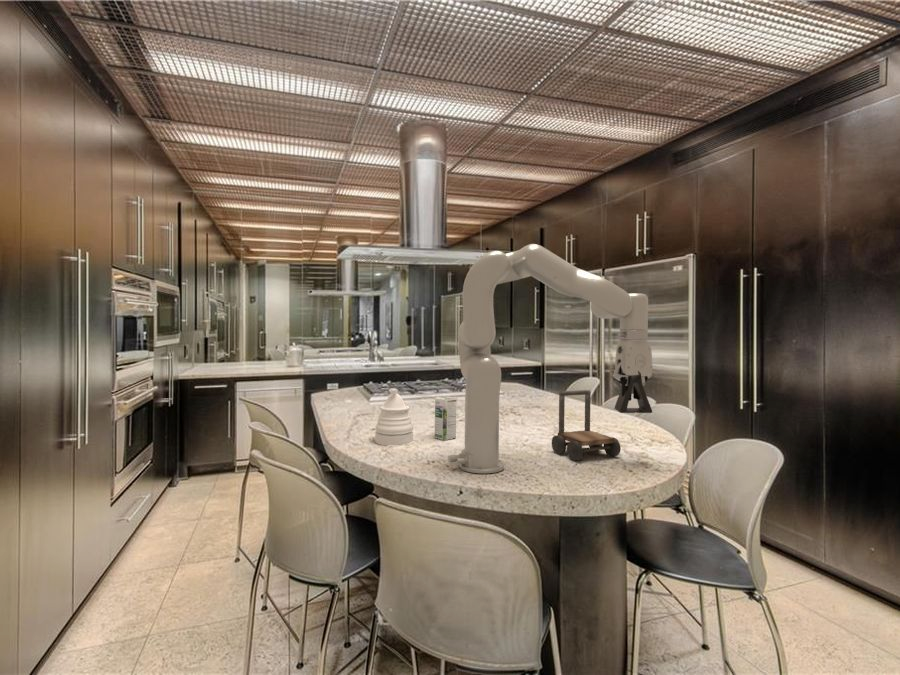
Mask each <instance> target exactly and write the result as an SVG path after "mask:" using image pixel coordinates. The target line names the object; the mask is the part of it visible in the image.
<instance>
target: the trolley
mask: <svg viewBox="0 0 900 675" xmlns="http://www.w3.org/2000/svg"><path fill="white" fill-rule="evenodd" d="M591 394H592V392H591V390H590V389H584V390H583V389H582V390H580V389H579V390H564V391H561V390H560V391H559V392H558V398H559V399H558V432H557V435H554V436H553V437H552V439H551V448H552V450H553V452H554V453H555V454H557V455H561V454H564V453H567V457H568V458H569V459H570V460H571V461H572V462H577V461H581V460H582V458H583V457H584V456H583V455H584V452H593V451H602V450H603V451H604V452H605V454H606V455H607V456H608V455H609V457H618V456H619V455H620V453H621V443H620V442H619V440H618V439H617V438H615V437H611V436H609V435H606V434H603V433H599V432H598V431H592V430H591ZM565 396H584V430H576V431H565V407H566V406H565V405H566V404H565ZM586 446H588V447H586Z"/></svg>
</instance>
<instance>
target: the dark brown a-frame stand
mask: <svg viewBox="0 0 900 675" xmlns="http://www.w3.org/2000/svg"><path fill="white" fill-rule="evenodd" d="M638 373H639V374H640V375H639V376H630V383H629V386H628V387H627V390H626V393H625V394H624V396H623V397H622V387H621V389H620V391H619V394H618V397H617V400H616V403H615V405H614V410H615V411H617V412H618V413H620V414H651V413H653V409H652V407H651V404H650V402H649V399H648V397H647V396H648V395H647V394H646V390H645V388H644V386H642V383H641V373H640V372H639V371H638ZM625 380H626V377H625ZM634 386H635V389H636V391H637V394H638V396H639V398H640V400H638V399H636V401H637V405H638V407H628V406H629V402H630V401H629V399H630V395H631V391H632V390H633V387H634ZM632 392H633V391H632ZM631 396H632V395H631Z"/></svg>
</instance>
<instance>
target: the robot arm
mask: <svg viewBox="0 0 900 675" xmlns="http://www.w3.org/2000/svg"><path fill="white" fill-rule="evenodd" d="M465 276H466V277H465V278H464V283H463V286H462V314H463V315H462V316H463V317H462V322H461V324H460V325H459V328H458V333H457V336H458V338H457V339H458V351H459V352H458V353H459V365H460V366H459V367H460V372H461V374H462V377H463V379H464V380H465V394H464V395H465V396H464V449H461V451H460V453H458V454H449V455H448V456H447V461H448V463H456V464H458V468H460V469H461V470H462V471H464V472H468V473H473V474H483V475H484V474H495V473H499V472H501V471H503V470H504V469H505V463H504V462H503V461H502V460H500V458H499V456H500V453H499V452H500V445H499V444H500V394H501V393H500V392H501V386H502V385H501V383H502V368H501V366H500V364H499V362H498V361H497V360H496V358H494V356H492V353H491V352H492V351H491V350H492V348H491V345H492V344H493V343H494V341H495V339H496V332H497V331H496V324H495V323H496V322H495V312H494V294H495V289H496V287H497V285H500V284H506V283H509V282H514V281H518V280H521V279H525V278H529V277H533V279H535V280H537V281H539V282H541V283H542V284H544V285H546V286H547V287H549V288H551V289H552V290H554V291H556V292H557V293H559V294H561V295H564V296H568V297H575V298H579V299H582V300H586V301H588V302H590V311H591V312H592V314H593V315H594V316H595V317H597V318H598V319H603V320H605V319H606V320H607V319H619V332H618V333H617V337H619V340H618V342H617V345H616V352H615V362H614V364H615V365H614V371H613V372H612V377H613V378H614V379H616V380H617V382H619V385H620V386H621V388H622V397H623V396H624V394H625V393H626V390H627V387H628V386H629V383H630V376H631V377H633V376H639V375H640V374H639V373H638V371H639V372H640V373H641V383H642V386H643V387H645V386H646V384H647V382H648V380H649V379H650V378H651V377H653V353H652V347H651V342H650V341H649V340H648V335H649V334H648V328H649V322H648V321H649V320H648V319H649V297H648V295H647V294H645V293H638V292H637V293H636V292H634V293H630V292H629V293H628V292H627V291H626V290H624V289H623V288H622V287H620V286H618V285H616V284H615V283H613V282H612V281H611V280H608V279H606V278H604V277H602V276H599V275H597V274H594V273H592V272H589V271H587V270H585V269H581V268H578V267H577V266H575V265H573V264H572V263H570V262H568V261H567V260H565V259H564V258H562V257H560V256H558V255H557V254H555V253H553V252H552V251H551V250H549V249H547V248H546V247H544V246H542V245H540V244H536V243H530V244H527V245H524V246H523V247H522V248H520V249H518V250H515V251H511V252H508V253H505V252H503V251H500V250H492V251H489V252H487V253H485V254H484V255H482V256H481V257H479V258H478V259H477V260H476V261H475V262H474V263H473V264H472V265H471V266H470V268H469V271H468V272H467V274H466V275H465ZM625 377H626V380H625ZM632 390H633V391H631V395H630V399H629V402H630V401H632V397H633V399H634V400H637V399H638V400H640V398H639V396H638V394H637V391H636V389H635V386H634V387H632ZM632 392H633V395H632Z"/></svg>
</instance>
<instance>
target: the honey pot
mask: <svg viewBox="0 0 900 675" xmlns="http://www.w3.org/2000/svg"><path fill="white" fill-rule="evenodd" d="M389 391H390V394H389V396H388V397H386V399H385V401H384V403H383V405H381V406H380V407H379V408H380V414H379V415H378V419H377V423H376V425H375V440H374V441H375V444H377V443H378V445H380V444H382V445H381V446H386V445H399V446H404V445H403V444H406V445H408V444H407V443H410V442H412V441H413V442H414V426H413V425H414V424H413V423H412V420H411V419H412V418H411V416H410V414H409V412H408V411H409V410H410V406H409V405H406V403H405V401H404V399H403V398H402V396H401V395H400V394H399V393H398V389H397V388H395V389H394V388H392V389H391V388H390V389H389ZM413 442H412V443H413ZM410 444H411V443H410Z"/></svg>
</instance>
